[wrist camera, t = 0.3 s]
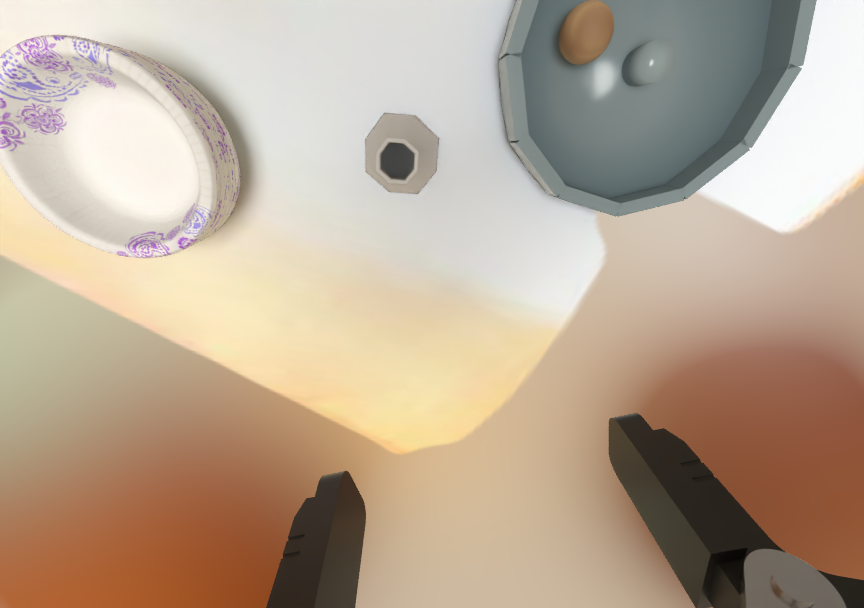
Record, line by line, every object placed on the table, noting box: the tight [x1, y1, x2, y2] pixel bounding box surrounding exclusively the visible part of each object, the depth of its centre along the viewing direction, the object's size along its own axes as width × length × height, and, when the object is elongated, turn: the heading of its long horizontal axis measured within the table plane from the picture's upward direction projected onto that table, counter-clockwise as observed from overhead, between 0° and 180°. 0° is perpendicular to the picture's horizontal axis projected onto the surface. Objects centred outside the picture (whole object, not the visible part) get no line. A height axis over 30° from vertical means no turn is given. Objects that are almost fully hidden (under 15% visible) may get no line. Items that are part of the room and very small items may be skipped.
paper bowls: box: [0, 35, 241, 258], centre depth 28 cm, size 15×15×8 cm
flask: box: [365, 113, 439, 194], centre depth 28 cm, size 7×7×10 cm
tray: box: [498, 0, 816, 216], centre depth 29 cm, size 24×24×4 cm
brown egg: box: [558, 0, 614, 65], centre depth 27 cm, size 4×4×4 cm
